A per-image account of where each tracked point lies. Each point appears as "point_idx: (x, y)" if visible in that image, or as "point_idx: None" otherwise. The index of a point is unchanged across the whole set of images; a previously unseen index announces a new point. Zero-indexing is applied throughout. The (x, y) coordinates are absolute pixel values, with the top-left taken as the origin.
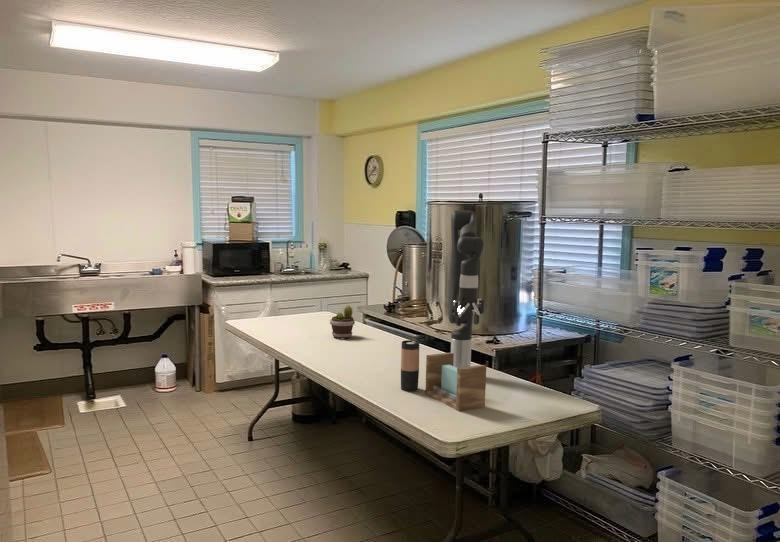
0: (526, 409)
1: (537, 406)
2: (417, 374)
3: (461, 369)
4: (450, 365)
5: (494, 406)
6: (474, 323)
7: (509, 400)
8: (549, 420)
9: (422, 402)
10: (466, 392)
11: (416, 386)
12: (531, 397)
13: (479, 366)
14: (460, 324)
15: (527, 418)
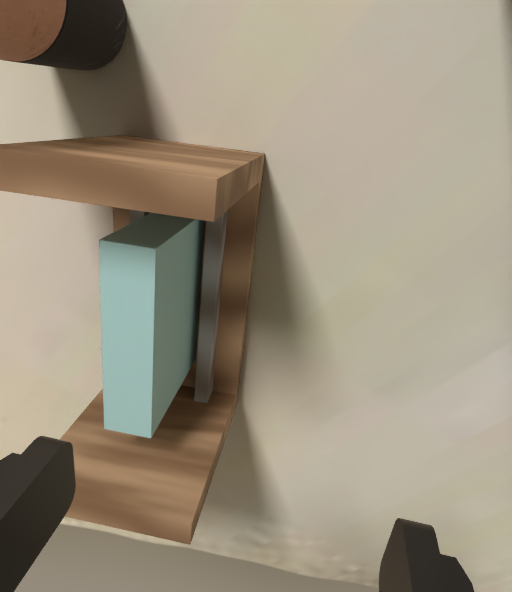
0: (349, 495)
1: (413, 501)
2: (55, 58)
3: None
4: (149, 272)
5: (273, 418)
6: (393, 534)
7: (384, 409)
8: (323, 576)
9: (48, 233)
10: None
11: (89, 66)
12: (501, 436)
13: (150, 528)
14: (50, 522)
15: (279, 535)
